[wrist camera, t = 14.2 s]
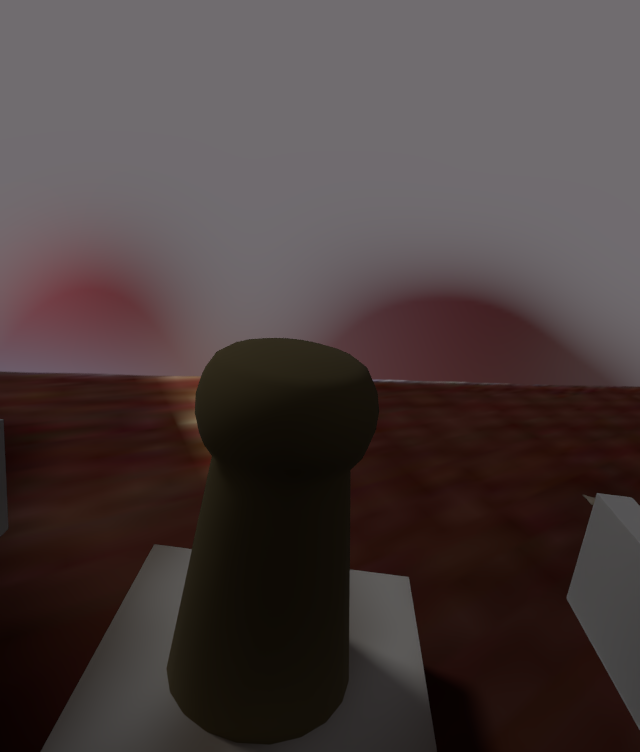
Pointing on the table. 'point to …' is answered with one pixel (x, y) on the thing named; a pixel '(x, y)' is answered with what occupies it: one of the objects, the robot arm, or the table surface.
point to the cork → (272, 540)
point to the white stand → (199, 748)
